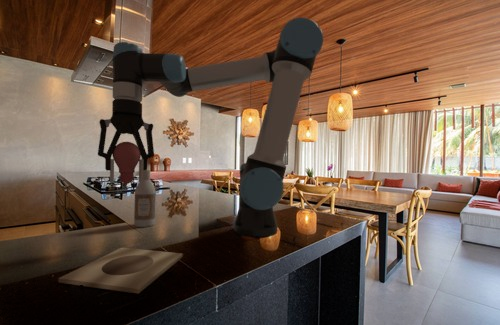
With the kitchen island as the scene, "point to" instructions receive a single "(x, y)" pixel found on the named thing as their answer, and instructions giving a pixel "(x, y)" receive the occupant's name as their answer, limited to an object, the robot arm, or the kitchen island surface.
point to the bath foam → (145, 202)
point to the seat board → (123, 270)
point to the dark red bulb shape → (126, 160)
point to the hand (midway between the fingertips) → (126, 182)
